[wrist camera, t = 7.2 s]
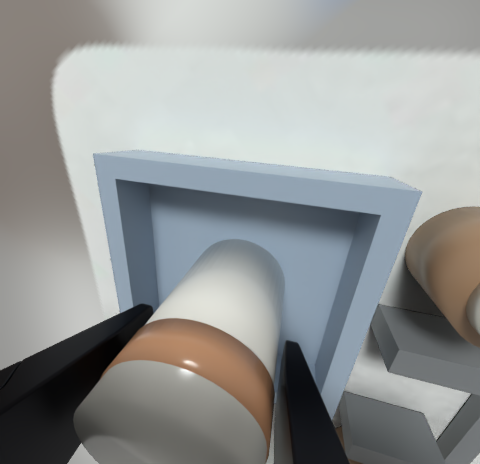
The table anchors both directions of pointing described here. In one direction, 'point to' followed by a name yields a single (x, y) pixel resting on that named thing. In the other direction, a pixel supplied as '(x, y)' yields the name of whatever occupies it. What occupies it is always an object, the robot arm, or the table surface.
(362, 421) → the grey bar and blocks
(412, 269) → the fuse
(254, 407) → the cylinder
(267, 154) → the table surface
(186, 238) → the tray
